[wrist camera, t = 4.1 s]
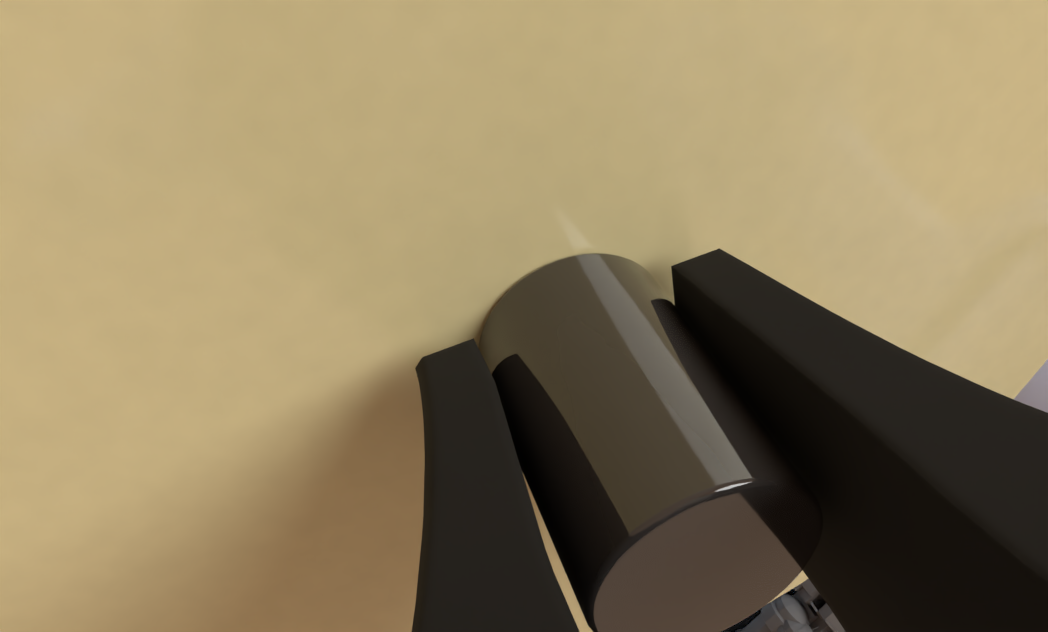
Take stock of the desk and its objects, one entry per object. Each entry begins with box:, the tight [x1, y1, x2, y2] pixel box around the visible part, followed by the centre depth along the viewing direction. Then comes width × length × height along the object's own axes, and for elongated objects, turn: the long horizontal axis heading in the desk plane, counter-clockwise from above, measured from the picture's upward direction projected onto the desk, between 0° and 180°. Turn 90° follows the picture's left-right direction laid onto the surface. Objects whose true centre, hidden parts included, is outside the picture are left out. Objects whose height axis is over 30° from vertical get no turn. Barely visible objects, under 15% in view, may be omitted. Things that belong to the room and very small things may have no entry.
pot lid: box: [0, 0, 1048, 632], centre depth 10 cm, size 18×18×5 cm
